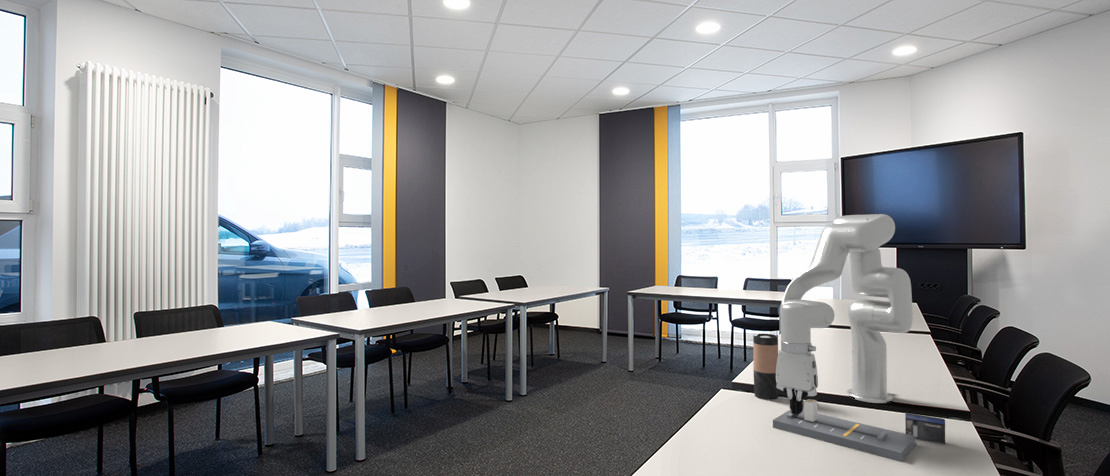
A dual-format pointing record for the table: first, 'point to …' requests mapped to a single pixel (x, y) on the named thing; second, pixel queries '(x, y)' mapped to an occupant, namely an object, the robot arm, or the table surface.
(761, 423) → the table surface
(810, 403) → the fader
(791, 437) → the table surface
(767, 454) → the table surface
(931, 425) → the mini dv tape
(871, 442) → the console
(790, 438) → the table surface
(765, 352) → the travel mug
